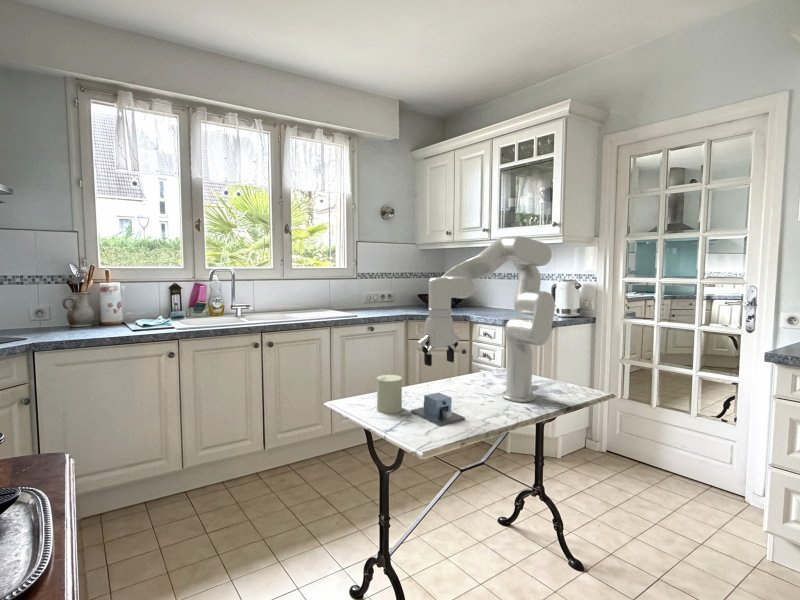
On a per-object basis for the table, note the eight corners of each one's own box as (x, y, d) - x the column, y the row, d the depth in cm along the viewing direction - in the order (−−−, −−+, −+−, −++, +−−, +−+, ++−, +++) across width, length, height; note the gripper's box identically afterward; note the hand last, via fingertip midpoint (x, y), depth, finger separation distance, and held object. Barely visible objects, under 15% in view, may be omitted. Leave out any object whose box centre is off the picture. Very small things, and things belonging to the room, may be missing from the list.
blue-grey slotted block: (438, 408, 160) (438, 392, 159) (452, 414, 154) (452, 397, 153) (424, 412, 156) (424, 395, 156) (437, 418, 150) (437, 400, 150)
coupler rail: (435, 406, 165) (435, 398, 165) (464, 419, 152) (464, 410, 151) (410, 412, 159) (410, 403, 158) (439, 426, 146) (439, 416, 145)
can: (371, 408, 163) (371, 375, 162) (392, 403, 168) (392, 372, 167) (385, 415, 156) (385, 381, 155) (407, 410, 161) (407, 377, 160)
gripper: (452, 311, 160) (451, 358, 162) (412, 314, 151) (412, 364, 152) (466, 313, 154) (465, 362, 156) (426, 316, 144) (425, 369, 146)
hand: (439, 363), depth 154 cm, fingers open, 9 cm apart
